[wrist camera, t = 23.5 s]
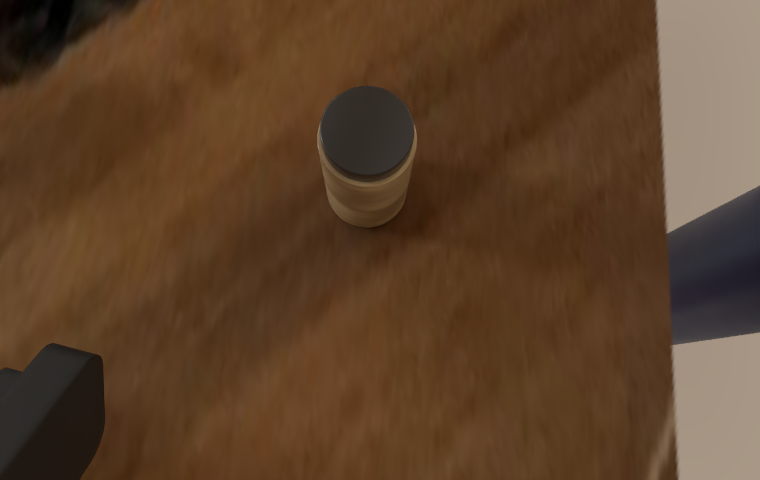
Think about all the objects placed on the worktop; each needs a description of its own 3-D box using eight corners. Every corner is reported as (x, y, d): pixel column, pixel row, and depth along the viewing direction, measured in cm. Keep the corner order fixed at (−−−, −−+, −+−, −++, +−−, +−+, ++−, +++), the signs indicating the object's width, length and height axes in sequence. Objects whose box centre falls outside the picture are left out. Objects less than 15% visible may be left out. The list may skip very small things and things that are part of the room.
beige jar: (415, 161, 43) (429, 95, 34) (395, 236, 42) (405, 190, 33) (338, 142, 44) (330, 70, 34) (317, 216, 43) (303, 164, 33)
